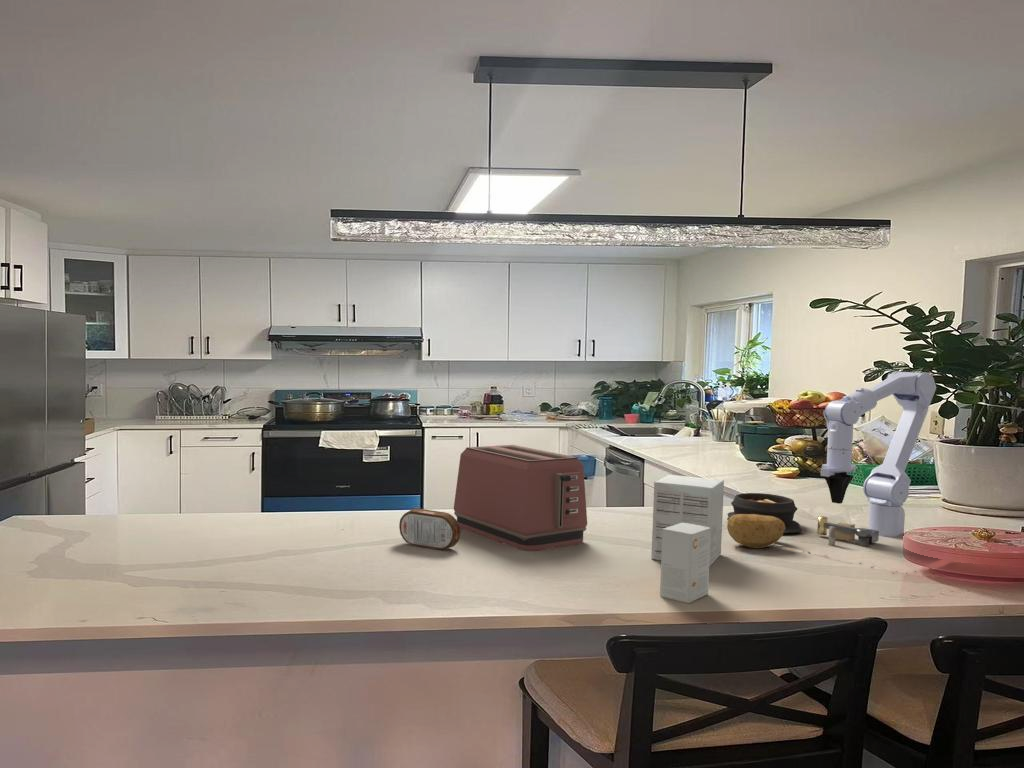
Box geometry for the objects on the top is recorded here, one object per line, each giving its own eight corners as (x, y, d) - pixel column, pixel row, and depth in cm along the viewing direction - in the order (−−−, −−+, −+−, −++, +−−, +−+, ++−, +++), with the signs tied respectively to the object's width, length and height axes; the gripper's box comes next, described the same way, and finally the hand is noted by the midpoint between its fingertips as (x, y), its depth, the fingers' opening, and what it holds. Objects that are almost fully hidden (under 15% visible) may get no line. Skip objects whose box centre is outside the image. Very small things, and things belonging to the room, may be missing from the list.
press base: (825, 534, 206) (826, 513, 206) (902, 550, 192) (903, 527, 191) (794, 542, 196) (795, 521, 195) (873, 560, 181) (874, 536, 181)
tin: (460, 550, 179) (461, 513, 178) (453, 553, 176) (454, 515, 175) (404, 541, 185) (405, 505, 185) (396, 544, 182) (397, 508, 182)
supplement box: (665, 547, 188) (668, 473, 187) (721, 554, 182) (725, 479, 181) (649, 559, 176) (652, 481, 175) (709, 568, 170) (712, 487, 169)
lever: (828, 531, 203) (829, 513, 203) (880, 541, 193) (881, 523, 193) (814, 534, 198) (815, 517, 198) (867, 545, 188) (868, 527, 188)
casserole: (819, 540, 200) (821, 507, 200) (750, 540, 197) (751, 507, 197) (773, 518, 225) (775, 489, 224) (711, 518, 222) (712, 489, 222)
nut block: (840, 536, 200) (840, 522, 200) (854, 538, 197) (854, 524, 197) (834, 538, 197) (834, 524, 197) (849, 540, 195) (849, 526, 195)
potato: (792, 552, 186) (793, 519, 186) (734, 551, 185) (735, 518, 185) (775, 542, 196) (776, 510, 195) (719, 541, 195) (721, 509, 194)
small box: (679, 587, 155) (681, 521, 155) (709, 594, 151) (711, 527, 151) (658, 596, 149) (661, 528, 149) (689, 604, 145) (692, 533, 144)
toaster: (531, 554, 177) (534, 464, 176) (451, 525, 204) (453, 446, 203) (594, 544, 188) (597, 459, 187) (510, 517, 215) (512, 443, 215)
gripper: (838, 445, 205) (835, 497, 205) (810, 448, 195) (807, 503, 196) (865, 448, 200) (862, 501, 200) (837, 452, 190) (834, 508, 191)
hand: (837, 502), depth 198 cm, fingers closed
